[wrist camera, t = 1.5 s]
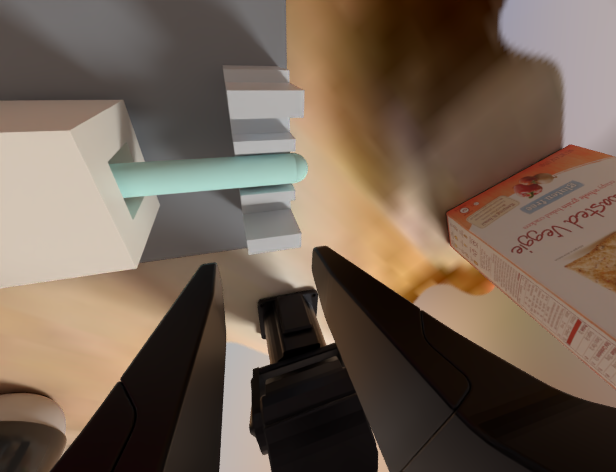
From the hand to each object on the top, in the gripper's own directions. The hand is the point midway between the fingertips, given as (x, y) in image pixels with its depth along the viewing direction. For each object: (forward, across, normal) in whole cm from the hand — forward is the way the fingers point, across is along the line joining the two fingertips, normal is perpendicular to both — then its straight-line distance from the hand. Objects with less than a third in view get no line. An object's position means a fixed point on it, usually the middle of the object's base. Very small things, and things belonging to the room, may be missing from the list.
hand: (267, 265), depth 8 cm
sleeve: (+11, +9, 0) cm, 14 cm away
